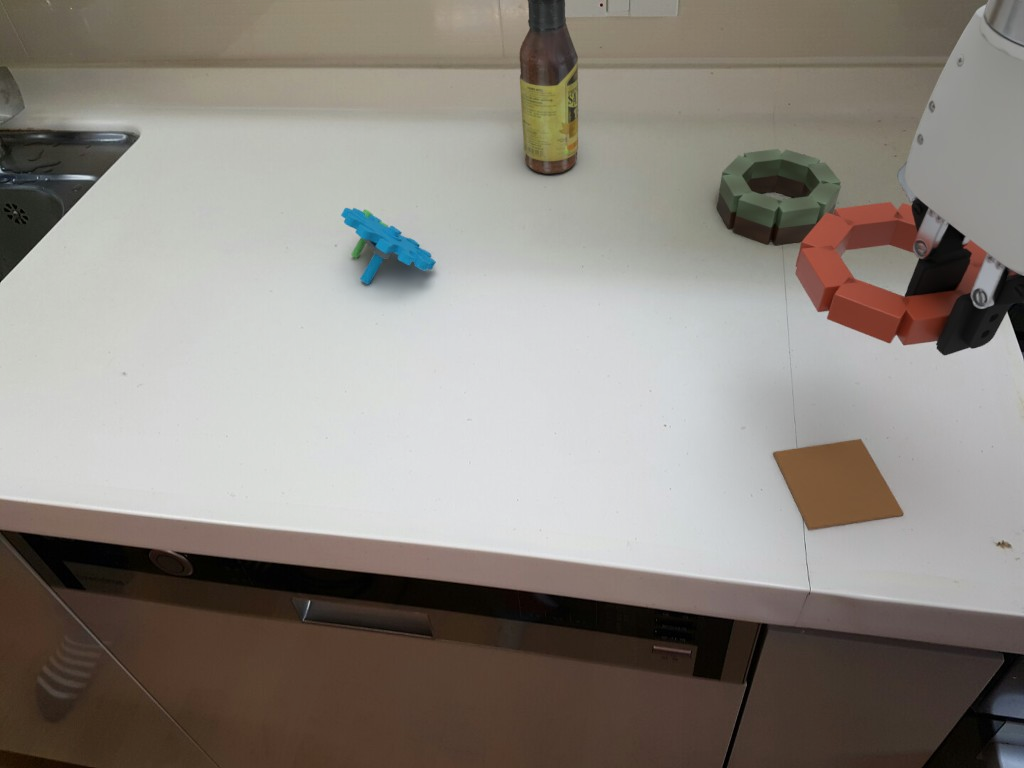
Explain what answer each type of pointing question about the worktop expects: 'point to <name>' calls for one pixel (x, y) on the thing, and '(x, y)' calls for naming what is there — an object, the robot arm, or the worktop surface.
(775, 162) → the ring stack
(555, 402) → the worktop surface
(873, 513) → the cork mat
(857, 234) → the terracotta ring
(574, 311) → the worktop surface
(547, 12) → the sauce bottle
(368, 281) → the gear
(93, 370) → the worktop surface
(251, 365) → the worktop surface
